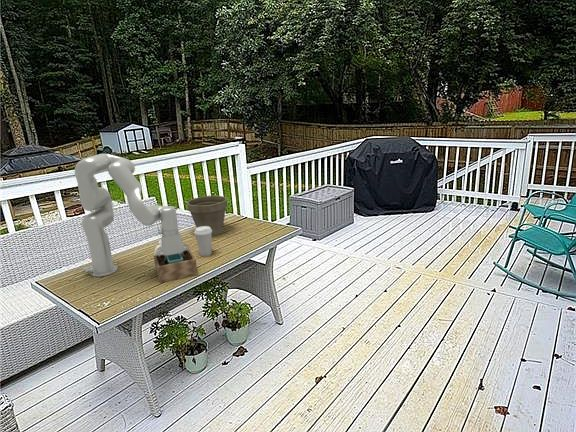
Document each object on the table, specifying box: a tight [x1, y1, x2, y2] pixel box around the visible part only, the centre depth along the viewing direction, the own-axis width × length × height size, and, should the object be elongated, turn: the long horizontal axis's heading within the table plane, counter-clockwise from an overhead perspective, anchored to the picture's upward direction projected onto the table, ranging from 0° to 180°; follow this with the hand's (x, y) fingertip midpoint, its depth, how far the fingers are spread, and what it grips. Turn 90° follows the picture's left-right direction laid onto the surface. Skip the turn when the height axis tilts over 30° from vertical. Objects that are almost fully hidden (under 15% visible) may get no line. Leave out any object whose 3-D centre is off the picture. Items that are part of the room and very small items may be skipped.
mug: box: [154, 239, 163, 256], centre depth 214 cm, size 12×8×10 cm
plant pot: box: [186, 195, 228, 237], centre depth 250 cm, size 25×25×22 cm
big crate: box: [153, 249, 198, 284], centre depth 198 cm, size 18×16×8 cm
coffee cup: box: [194, 226, 213, 257], centre depth 218 cm, size 10×10×15 cm
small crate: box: [167, 253, 183, 264], centre depth 197 cm, size 7×11×6 cm, turn 25°
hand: (175, 264), depth 198 cm, fingers closed on small crate, 6 cm apart
